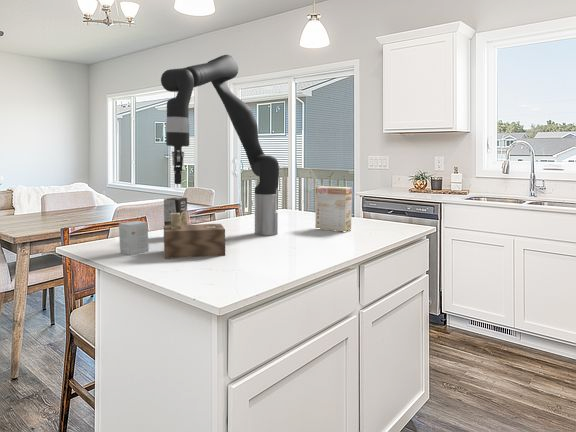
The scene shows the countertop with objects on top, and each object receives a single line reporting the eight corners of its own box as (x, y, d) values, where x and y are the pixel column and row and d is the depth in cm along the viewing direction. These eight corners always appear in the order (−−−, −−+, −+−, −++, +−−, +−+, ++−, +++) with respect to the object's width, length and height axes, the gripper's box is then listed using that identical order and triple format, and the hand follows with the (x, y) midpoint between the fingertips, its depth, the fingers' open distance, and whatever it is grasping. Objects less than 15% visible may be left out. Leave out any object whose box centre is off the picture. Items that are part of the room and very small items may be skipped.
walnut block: (220, 247, 167) (220, 223, 166) (225, 255, 156) (225, 229, 155) (164, 250, 162) (163, 225, 161) (164, 258, 151) (163, 231, 149)
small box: (138, 249, 164) (137, 220, 163) (149, 251, 161) (148, 221, 160) (119, 253, 158) (118, 223, 156) (129, 255, 155) (128, 224, 153)
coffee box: (179, 240, 181) (178, 199, 179) (164, 239, 183) (162, 199, 180) (188, 236, 190) (187, 197, 188) (174, 235, 191) (173, 196, 189)
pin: (180, 235, 158) (179, 212, 157) (180, 237, 156) (180, 214, 154) (171, 236, 158) (170, 213, 156) (171, 237, 155) (170, 214, 154)
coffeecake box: (351, 230, 206) (352, 187, 204) (344, 232, 200) (345, 188, 198) (322, 227, 214) (323, 185, 211) (314, 229, 208) (315, 186, 206)
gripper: (190, 131, 146) (190, 185, 149) (188, 132, 159) (188, 182, 161) (166, 130, 144) (166, 185, 147) (165, 132, 157) (166, 182, 159)
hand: (177, 183), depth 154 cm, fingers closed
